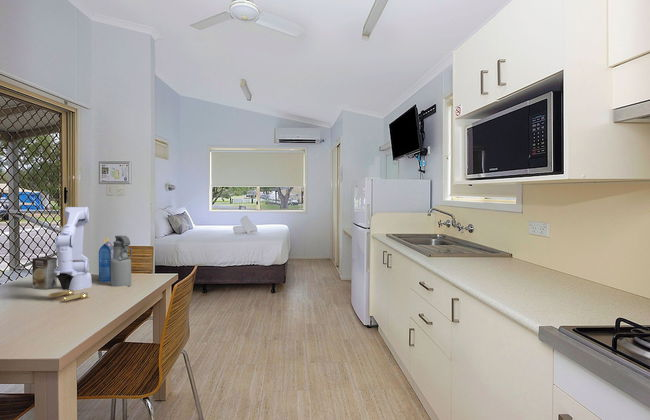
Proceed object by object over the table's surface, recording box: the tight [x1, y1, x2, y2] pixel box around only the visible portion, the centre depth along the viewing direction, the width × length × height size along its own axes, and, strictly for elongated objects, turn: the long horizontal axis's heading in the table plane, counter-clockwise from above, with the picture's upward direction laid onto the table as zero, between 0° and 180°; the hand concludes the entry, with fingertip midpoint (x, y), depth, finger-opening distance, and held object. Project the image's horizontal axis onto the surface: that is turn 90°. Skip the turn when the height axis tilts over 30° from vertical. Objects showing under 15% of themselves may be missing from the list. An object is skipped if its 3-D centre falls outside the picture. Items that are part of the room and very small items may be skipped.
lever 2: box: [62, 292, 89, 301], centre depth 163 cm, size 11×4×2 cm, turn 155°
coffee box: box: [31, 256, 58, 290], centre depth 188 cm, size 9×6×16 cm
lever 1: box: [47, 289, 75, 298], centre depth 167 cm, size 11×4×2 cm, turn 155°
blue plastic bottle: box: [98, 236, 114, 283], centre depth 206 cm, size 6×12×25 cm, turn 24°
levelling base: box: [47, 295, 91, 304], centre depth 165 cm, size 10×16×2 cm, turn 65°
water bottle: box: [110, 235, 133, 288], centre depth 191 cm, size 10×10×28 cm
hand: (65, 289), depth 163 cm, fingers closed
